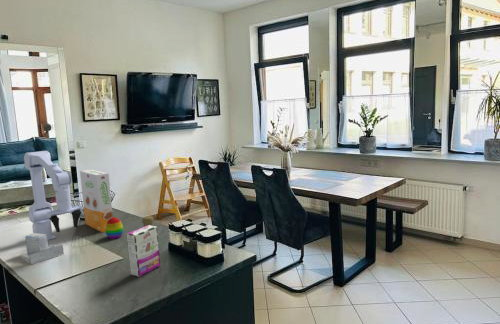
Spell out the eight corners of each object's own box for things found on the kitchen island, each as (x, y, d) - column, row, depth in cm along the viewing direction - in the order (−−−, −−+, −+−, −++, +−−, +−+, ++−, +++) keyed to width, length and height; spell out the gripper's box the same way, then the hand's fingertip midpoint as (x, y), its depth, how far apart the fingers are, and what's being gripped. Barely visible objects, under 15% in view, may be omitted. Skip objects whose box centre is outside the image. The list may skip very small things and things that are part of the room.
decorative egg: (126, 234, 185) (124, 214, 184) (119, 239, 177) (117, 219, 176) (111, 234, 186) (109, 215, 185) (103, 239, 178) (101, 219, 177)
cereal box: (113, 229, 193) (108, 173, 189) (102, 232, 189) (96, 175, 185) (96, 221, 209) (91, 169, 205) (85, 223, 205) (79, 170, 201)
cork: (152, 241, 173) (150, 218, 172) (140, 240, 175) (138, 218, 173) (157, 236, 179) (156, 215, 178) (146, 236, 180) (144, 214, 179)
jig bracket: (21, 258, 159) (19, 249, 158) (52, 248, 169) (51, 240, 168) (31, 264, 151) (30, 255, 151) (63, 254, 161) (62, 245, 161)
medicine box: (49, 252, 164) (47, 234, 163) (40, 256, 160) (38, 237, 158) (35, 251, 166) (33, 232, 165) (27, 255, 162) (24, 236, 161)
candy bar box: (152, 263, 148) (148, 224, 145) (161, 266, 145) (157, 226, 143) (129, 274, 138) (125, 233, 136) (138, 277, 136) (135, 235, 133)
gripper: (49, 204, 154) (53, 235, 156) (84, 197, 164) (87, 226, 166) (43, 202, 158) (46, 232, 160) (77, 195, 169) (80, 223, 171)
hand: (66, 229), depth 164 cm, fingers open, 7 cm apart
